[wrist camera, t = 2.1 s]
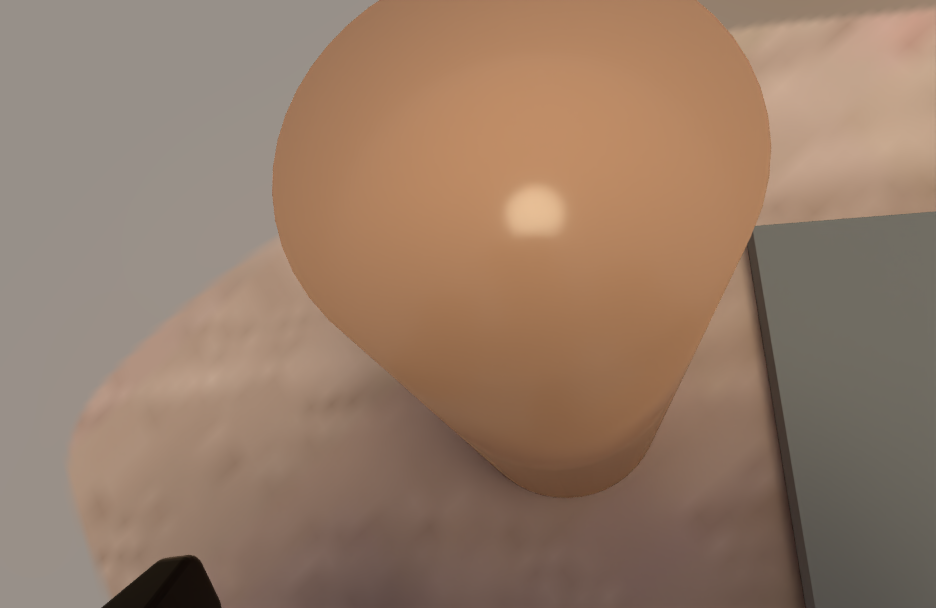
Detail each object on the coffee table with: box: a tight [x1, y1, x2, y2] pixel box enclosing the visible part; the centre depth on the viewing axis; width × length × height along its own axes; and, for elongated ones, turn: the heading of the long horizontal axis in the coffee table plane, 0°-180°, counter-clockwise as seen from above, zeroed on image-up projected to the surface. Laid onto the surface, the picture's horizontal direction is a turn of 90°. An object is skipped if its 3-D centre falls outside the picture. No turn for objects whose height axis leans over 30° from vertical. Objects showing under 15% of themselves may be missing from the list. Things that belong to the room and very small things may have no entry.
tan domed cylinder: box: [272, 0, 771, 498], centre depth 13 cm, size 5×5×13 cm
